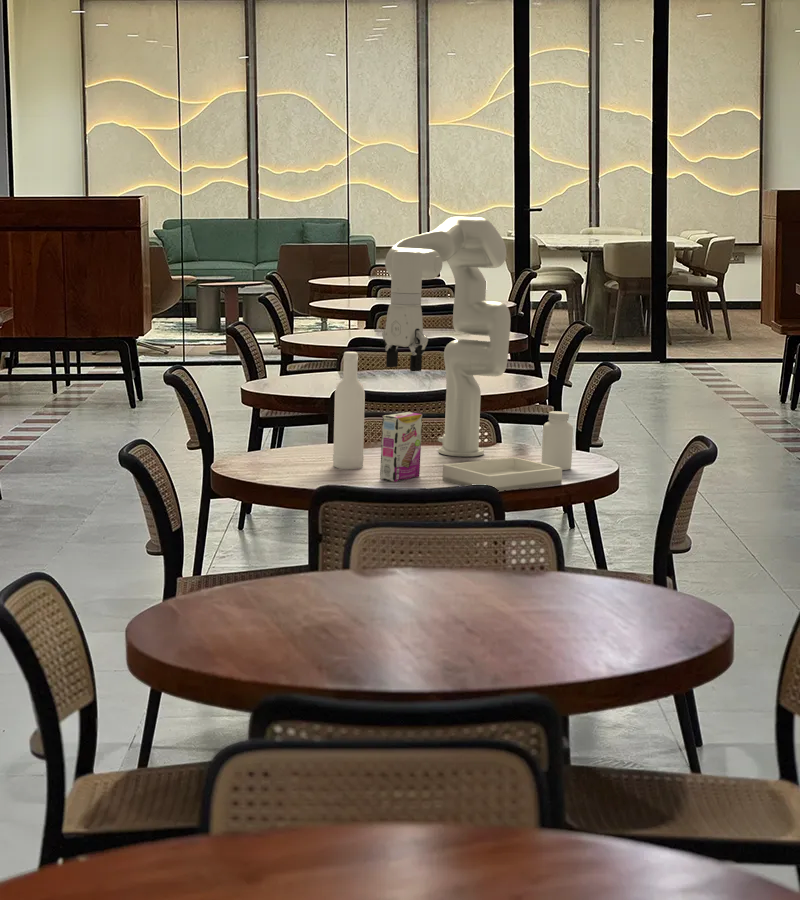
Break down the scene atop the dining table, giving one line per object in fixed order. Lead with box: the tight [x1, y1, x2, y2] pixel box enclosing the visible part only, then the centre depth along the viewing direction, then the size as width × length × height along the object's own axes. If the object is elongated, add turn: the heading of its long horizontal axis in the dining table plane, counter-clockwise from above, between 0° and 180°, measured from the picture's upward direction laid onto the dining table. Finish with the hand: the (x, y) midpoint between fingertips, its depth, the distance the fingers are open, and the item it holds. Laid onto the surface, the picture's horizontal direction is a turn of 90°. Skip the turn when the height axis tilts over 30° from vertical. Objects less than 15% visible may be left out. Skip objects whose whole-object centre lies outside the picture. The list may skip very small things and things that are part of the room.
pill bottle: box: [541, 410, 574, 471], centre depth 417 cm, size 8×8×15 cm
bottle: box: [332, 351, 366, 470], centre depth 408 cm, size 8×8×30 cm
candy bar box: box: [379, 411, 423, 483], centre depth 395 cm, size 11×5×16 cm, turn 144°
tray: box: [442, 456, 563, 492], centre depth 396 cm, size 18×24×4 cm
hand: (403, 369), depth 392 cm, fingers open, 9 cm apart
